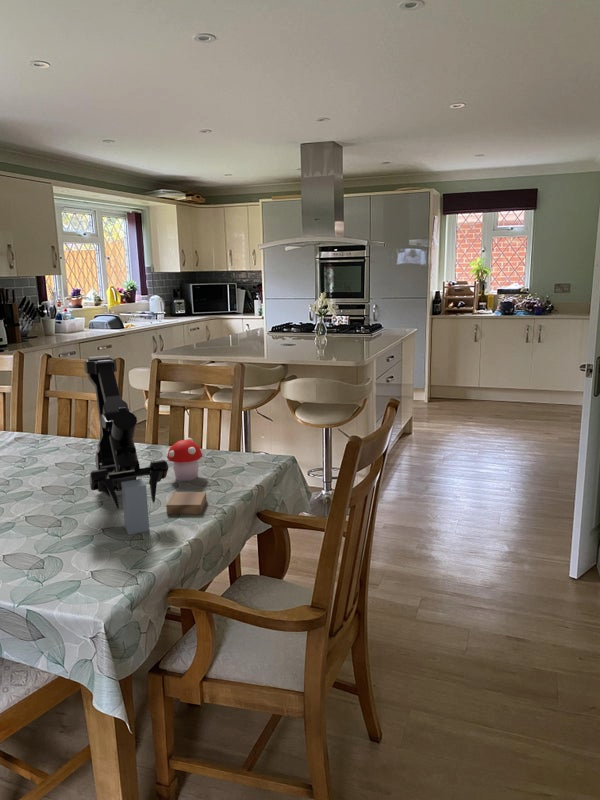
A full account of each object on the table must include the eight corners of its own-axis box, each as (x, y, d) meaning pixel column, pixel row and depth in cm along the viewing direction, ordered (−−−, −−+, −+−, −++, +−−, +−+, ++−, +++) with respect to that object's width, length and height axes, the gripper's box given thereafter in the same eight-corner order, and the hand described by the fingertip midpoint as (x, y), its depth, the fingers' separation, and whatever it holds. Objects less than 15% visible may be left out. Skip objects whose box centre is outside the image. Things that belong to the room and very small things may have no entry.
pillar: (124, 527, 150) (121, 482, 147) (144, 523, 152) (141, 478, 149) (128, 534, 145) (125, 488, 143) (149, 530, 148) (146, 484, 145)
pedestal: (167, 515, 158) (166, 505, 157) (174, 502, 166) (173, 492, 166) (201, 515, 157) (200, 504, 157) (206, 502, 166) (206, 492, 166)
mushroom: (188, 485, 178) (186, 446, 176) (160, 479, 183) (158, 442, 181) (210, 474, 187) (208, 437, 185) (183, 469, 192) (181, 433, 190)
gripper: (156, 460, 164) (169, 511, 156) (84, 471, 155) (94, 526, 148) (161, 439, 155) (175, 493, 148) (86, 449, 147) (97, 507, 140)
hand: (136, 505), depth 146 cm, fingers open, 8 cm apart
